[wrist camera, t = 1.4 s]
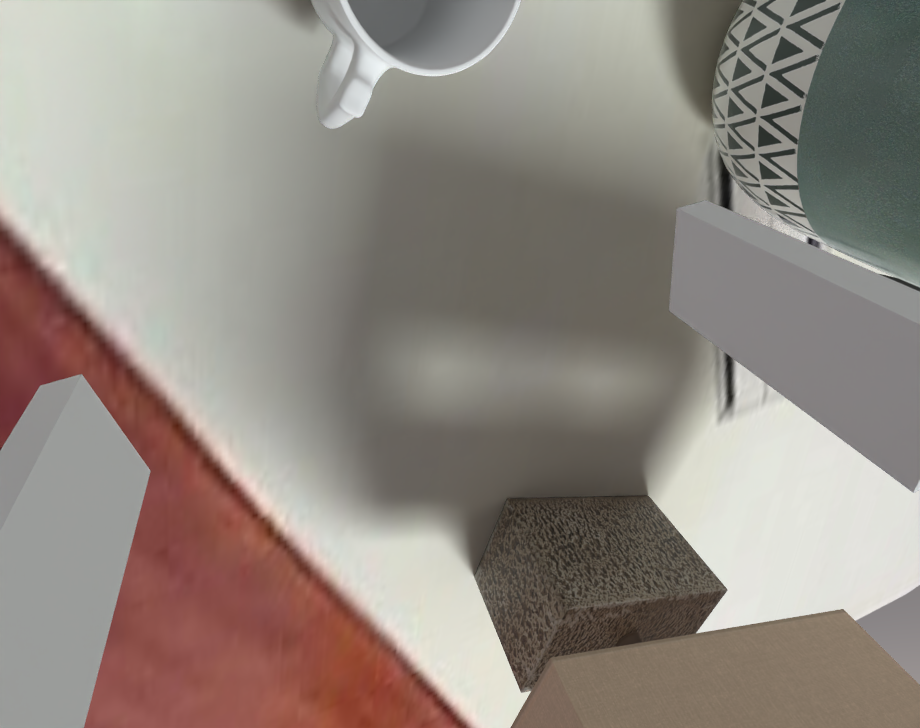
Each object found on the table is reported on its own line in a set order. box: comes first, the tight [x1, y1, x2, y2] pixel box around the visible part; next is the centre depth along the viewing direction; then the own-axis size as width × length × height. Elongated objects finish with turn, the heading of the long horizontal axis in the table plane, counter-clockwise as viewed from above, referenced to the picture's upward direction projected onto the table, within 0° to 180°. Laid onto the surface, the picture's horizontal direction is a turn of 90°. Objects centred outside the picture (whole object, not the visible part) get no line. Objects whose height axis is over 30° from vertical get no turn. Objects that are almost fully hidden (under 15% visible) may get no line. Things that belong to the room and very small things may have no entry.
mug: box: [311, 0, 521, 129], centre depth 23 cm, size 10×7×12 cm, turn 146°
